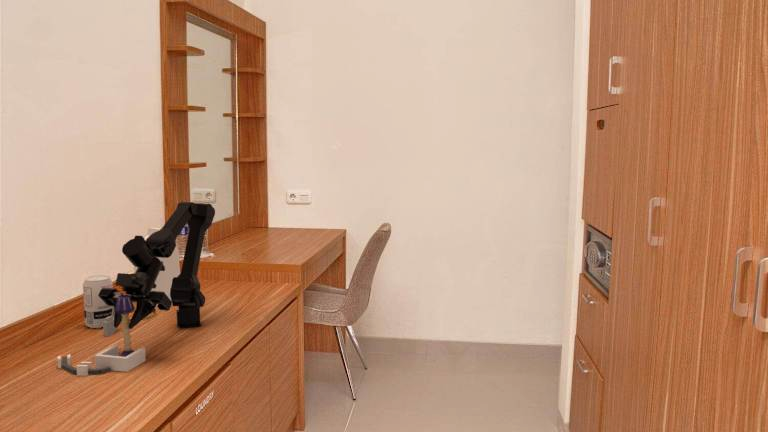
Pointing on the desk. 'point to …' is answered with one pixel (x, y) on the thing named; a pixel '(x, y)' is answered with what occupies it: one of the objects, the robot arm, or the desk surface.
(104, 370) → the cable run
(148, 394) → the desk surface
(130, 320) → the extension cord
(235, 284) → the desk surface
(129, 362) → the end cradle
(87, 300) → the supplement can
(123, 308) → the toy lamp
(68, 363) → the clip
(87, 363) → the clip
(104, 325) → the lighter
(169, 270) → the milk
